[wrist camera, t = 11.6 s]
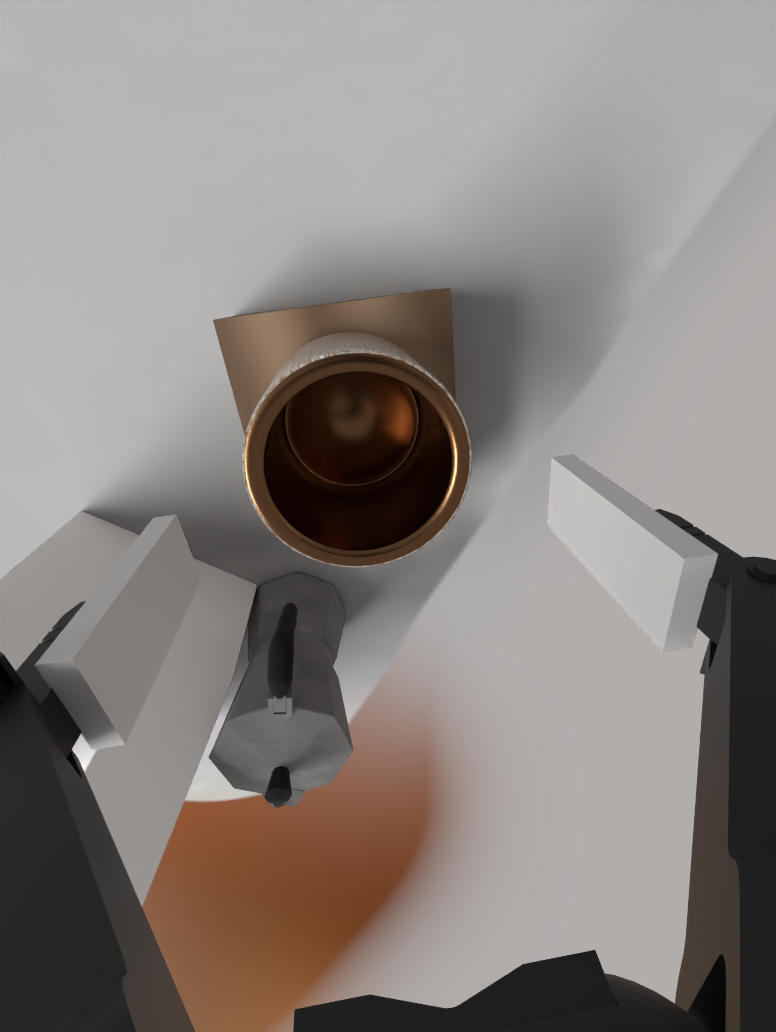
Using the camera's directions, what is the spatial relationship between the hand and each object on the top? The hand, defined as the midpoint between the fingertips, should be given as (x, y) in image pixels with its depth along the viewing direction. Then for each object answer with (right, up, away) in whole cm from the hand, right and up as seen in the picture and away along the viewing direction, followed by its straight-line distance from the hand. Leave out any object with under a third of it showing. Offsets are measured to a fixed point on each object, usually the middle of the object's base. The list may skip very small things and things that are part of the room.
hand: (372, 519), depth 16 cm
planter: (-2, +7, +13) cm, 15 cm away
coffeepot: (-8, -8, +27) cm, 29 cm away
